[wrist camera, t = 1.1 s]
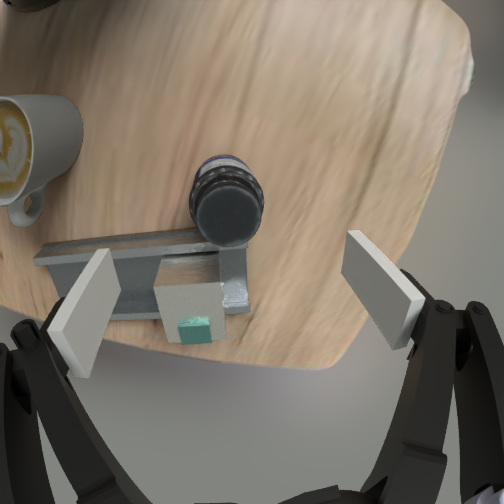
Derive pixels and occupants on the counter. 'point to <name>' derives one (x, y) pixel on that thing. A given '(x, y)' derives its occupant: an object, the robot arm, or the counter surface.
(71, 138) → the coffee mug
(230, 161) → the pill bottle
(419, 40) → the counter surface
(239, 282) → the rail
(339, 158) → the counter surface
